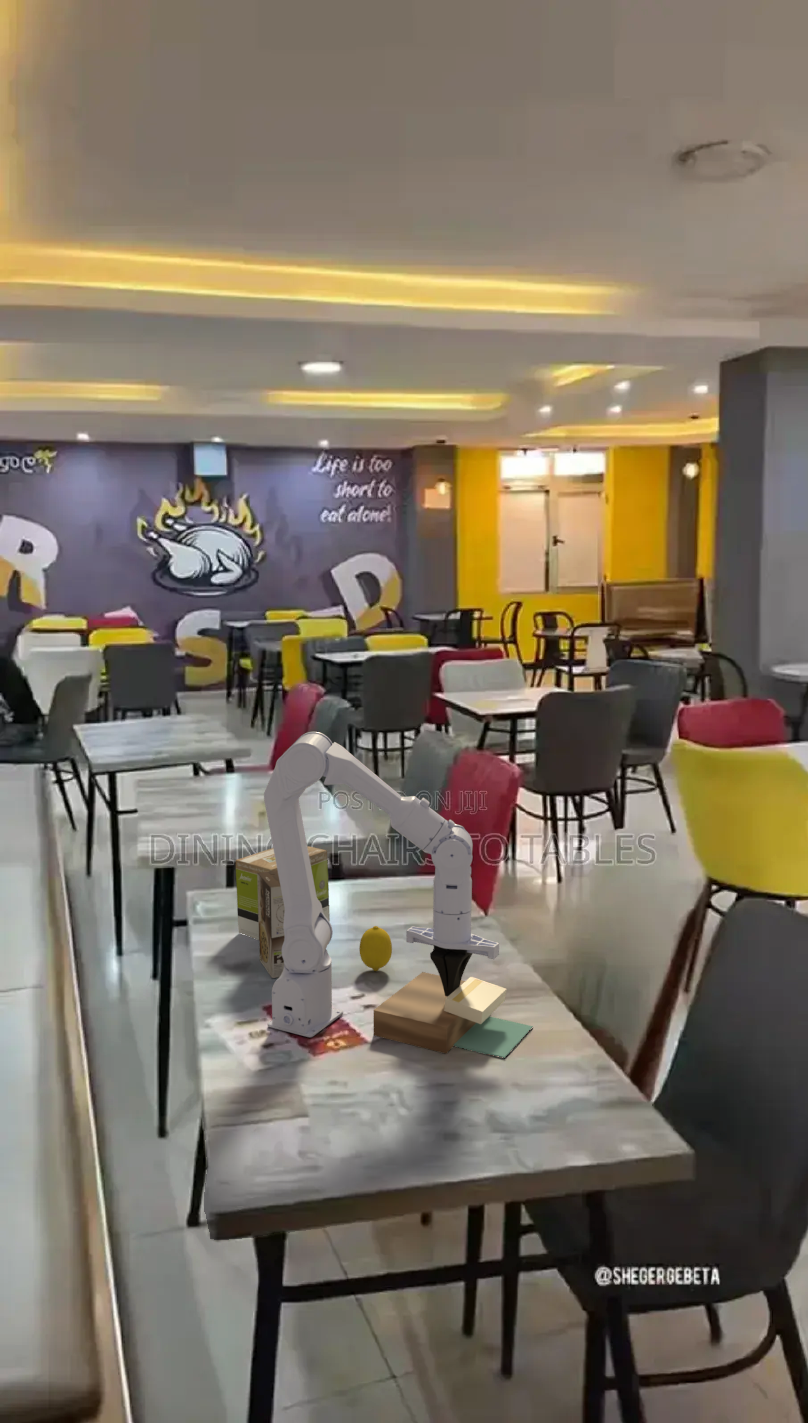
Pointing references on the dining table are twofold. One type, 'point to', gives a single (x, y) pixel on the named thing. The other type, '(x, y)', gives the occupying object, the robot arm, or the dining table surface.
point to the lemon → (375, 948)
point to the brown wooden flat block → (420, 1016)
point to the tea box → (266, 863)
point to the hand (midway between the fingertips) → (451, 994)
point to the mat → (493, 1037)
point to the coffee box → (270, 922)
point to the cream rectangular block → (475, 1000)
